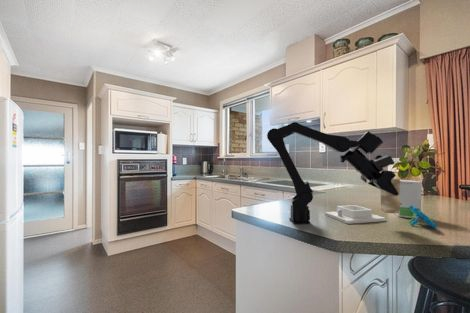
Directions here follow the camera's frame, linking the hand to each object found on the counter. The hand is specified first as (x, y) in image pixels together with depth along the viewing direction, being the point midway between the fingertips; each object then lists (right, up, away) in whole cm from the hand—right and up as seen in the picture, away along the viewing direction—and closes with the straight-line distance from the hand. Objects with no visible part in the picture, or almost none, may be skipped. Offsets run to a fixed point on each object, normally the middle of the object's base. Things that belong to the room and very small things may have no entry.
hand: (394, 193), depth 82 cm
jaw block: (-1, -7, 0) cm, 7 cm away
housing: (-7, -12, +14) cm, 20 cm away
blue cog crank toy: (+12, -13, +3) cm, 18 cm away
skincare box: (+17, -13, +17) cm, 27 cm away
